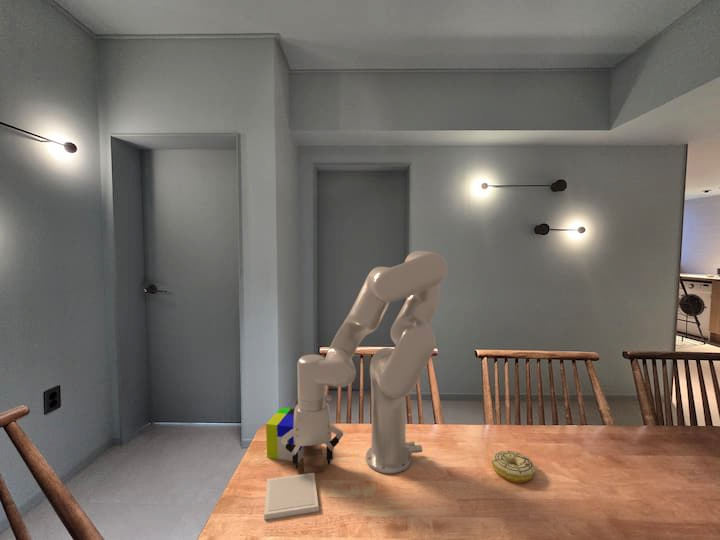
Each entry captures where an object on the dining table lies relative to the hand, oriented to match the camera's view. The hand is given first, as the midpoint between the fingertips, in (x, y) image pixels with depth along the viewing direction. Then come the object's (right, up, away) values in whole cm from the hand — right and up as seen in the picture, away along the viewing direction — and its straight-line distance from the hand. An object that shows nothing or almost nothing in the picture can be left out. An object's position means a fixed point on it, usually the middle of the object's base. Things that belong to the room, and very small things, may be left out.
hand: (312, 463), depth 97 cm
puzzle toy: (-8, -1, +9) cm, 12 cm away
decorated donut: (+54, -2, -2) cm, 54 cm away
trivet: (-4, -2, -11) cm, 12 cm away
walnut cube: (0, -1, 0) cm, 1 cm away
